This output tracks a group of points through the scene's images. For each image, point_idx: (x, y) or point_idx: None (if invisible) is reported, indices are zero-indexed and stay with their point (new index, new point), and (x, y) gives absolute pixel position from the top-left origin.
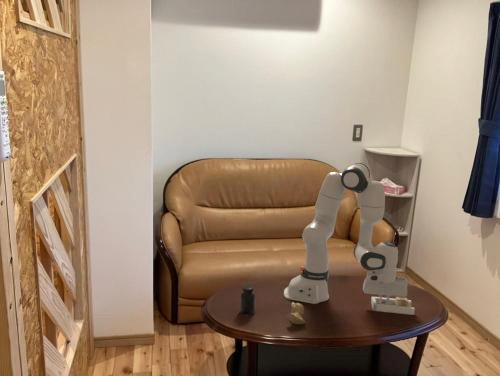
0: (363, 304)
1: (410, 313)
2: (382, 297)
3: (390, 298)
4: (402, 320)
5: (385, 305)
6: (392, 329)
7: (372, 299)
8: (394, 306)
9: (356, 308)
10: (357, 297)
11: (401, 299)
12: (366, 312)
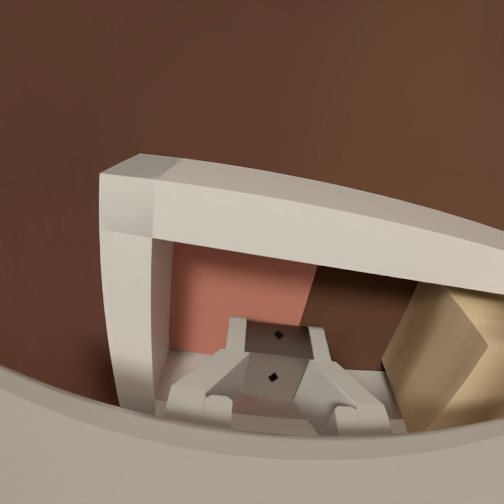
0: (50, 234)
1: None
2: (311, 206)
3: (437, 243)
4: None
5: (255, 430)
6: None
7: (105, 298)
8: None
9: (12, 317)
10: (15, 47)
11: (491, 396)
12: (88, 381)
